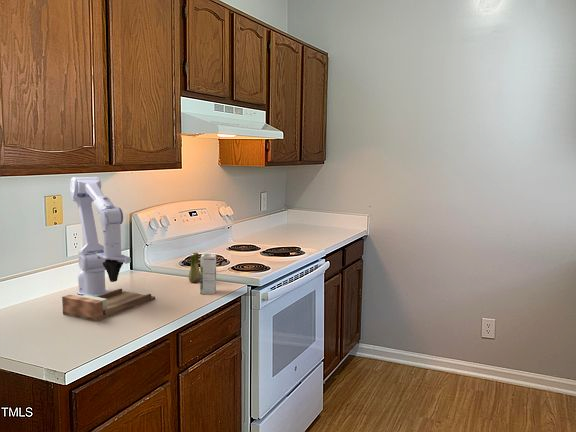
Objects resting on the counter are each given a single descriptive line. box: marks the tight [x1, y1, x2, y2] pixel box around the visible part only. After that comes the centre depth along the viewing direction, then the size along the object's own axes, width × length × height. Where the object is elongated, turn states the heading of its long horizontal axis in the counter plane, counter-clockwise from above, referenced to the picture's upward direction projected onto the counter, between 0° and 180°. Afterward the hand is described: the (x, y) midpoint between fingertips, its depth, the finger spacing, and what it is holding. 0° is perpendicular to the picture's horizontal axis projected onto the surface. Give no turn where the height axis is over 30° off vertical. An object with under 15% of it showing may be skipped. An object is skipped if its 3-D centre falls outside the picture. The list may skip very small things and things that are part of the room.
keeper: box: [79, 295, 107, 310], centre depth 178 cm, size 10×4×4 cm, turn 63°
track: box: [61, 288, 156, 322], centre depth 186 cm, size 15×28×6 cm, turn 153°
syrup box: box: [199, 253, 217, 295], centre depth 205 cm, size 6×6×14 cm
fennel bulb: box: [188, 252, 200, 283], centre depth 220 cm, size 6×5×12 cm
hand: (113, 281), depth 188 cm, fingers closed
